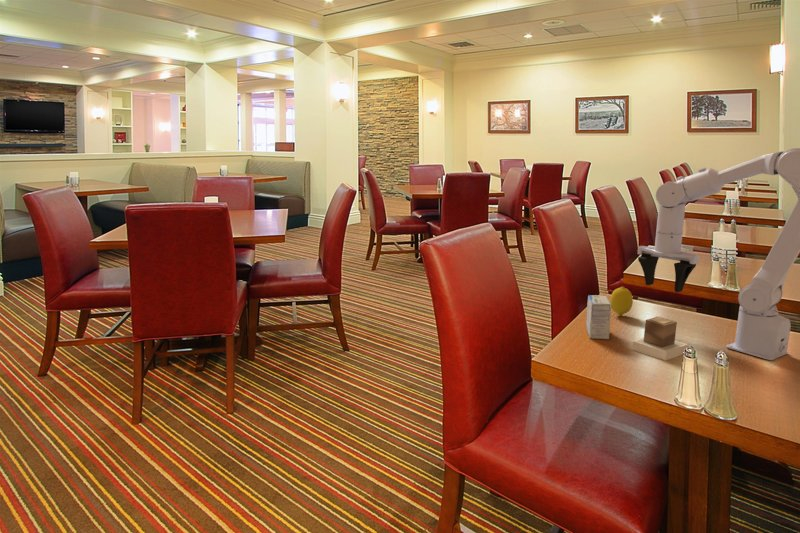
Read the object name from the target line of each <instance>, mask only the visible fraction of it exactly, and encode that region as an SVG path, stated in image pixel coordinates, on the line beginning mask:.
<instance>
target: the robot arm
mask: <svg viewBox="0 0 800 533" xmlns="http://www.w3.org/2000/svg"><path fill="white" fill-rule="evenodd" d="M762 174H763V175H769V176H770V175H771V176H776V175H779V176H780V177H781V178H782V179H783V180H784V181H785V182H786V183H788V184H789V185H790V186H791V188H792V190H793V192H794V193H795V195H796V196H797V202H796V204H795V205H794V207H793V209H792V211H791V212H790V214H789V216H788V218H787V220H786V222H785V224H783V227H782V229H781V231H780V233H779V235H778V236H777V238H776V240H775V242H774V243H773V245H772V247H771V249H770V251H769V253H768V255H767V257H766V259H765V260H764V262H763V264H762V265H761V268H760V269H759V270H758V271H757V272H756V274H755V275H754V276H753V277H752V279H751V282H750V283H749V284H748V285H746V286H744V287H743V288H741V290H740V291H739V293H738V295H737V296H738V297H737V299H738V303H739V308H738V315H737V316H738V317H737V323H736V324H737V325H736V332H735V337H734V338H735V339H734V342H732V343H729V344H727V345H725V347H726V348H727V349H729V350H730V349H731V350H734V351H736V352H741V353H744V354H747V355H750V356H755V357H757V358H761V359H763V360H768V361H773V360H775V359H778V358H780V357H782V356H785V355H788V354H789V351H788V347H789V341H790V340H789V339H790V332H791V321H790V319H789V318H788V317H786V316H782V315H780V314H779V310H778V308H777V305H776V304H778V303H779V302H780V301H781V300H782V298H783V293H784V291H783V288H784V284H785V283H786V280H787V276H788V273H789V271H790V270H791V269H792V266H793V265H794V263H795V261H796V260H797V258H798V256H799V255H800V148H799V147H794V148H789V149H787V150H783V151H776V152H772V153H768V154H767V153H766V154H763V155H760V156H758V157H755V158H753V159H752V158H751V159H750V160H747V161H744V162H741V163H738V164H737V165H736V164H735V165H733V166H731V167H728V168H726V169H723V170H720V171H719V170H716V169H714V168H707V167H703V168H699V169H698V170H697V172H696V173H693V174H691V175H688V176H685V177H684V176H682V175H680V176H678V177H677V178H676V180H677V181H666V182H665V183H663V184H660V186H659V187H658V188H657V189H656V193H655V198H656V201H657V202H658V212H657V219H656V229H655V242H654V246H648V245H647V246H646V245H639V246H638V247H637V255H640V256H638V258H637V260H638V262H639V264H640V266H641V268H642V272H643V276H644V282H645V285H646V286H651V285H654V283H655V282H654V281H655V274H656V268H657V264H658V261H659V258H661V259H665V260H672V261H678V262H674V263H673V266H674V273H675V277H674V278H675V280H674V292H675V293H680V292H683V290H684V287H685V284H686V282H687V280H688V278H689V277H690V274H691V273H692V272H693V270H694V269H695V268H696V266H697V264H699V261H700V260H699V259H700V255H699V254H696V253H691V252H687V251H683V250H682V244H683V243H682V242H683V232H684V224H685V215H686V214H685V211H686V205H687V203H688V202H694V201H697V200H699V199H703V198H705V197H710V196H713V195H715V194H718V193H720V192H721V191H722V189H723V187H724V186H725V185H727V184H731V183H734V182H737V181H741V180H744V179H748V178H751V177H754V176H758V175H762Z"/></svg>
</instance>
